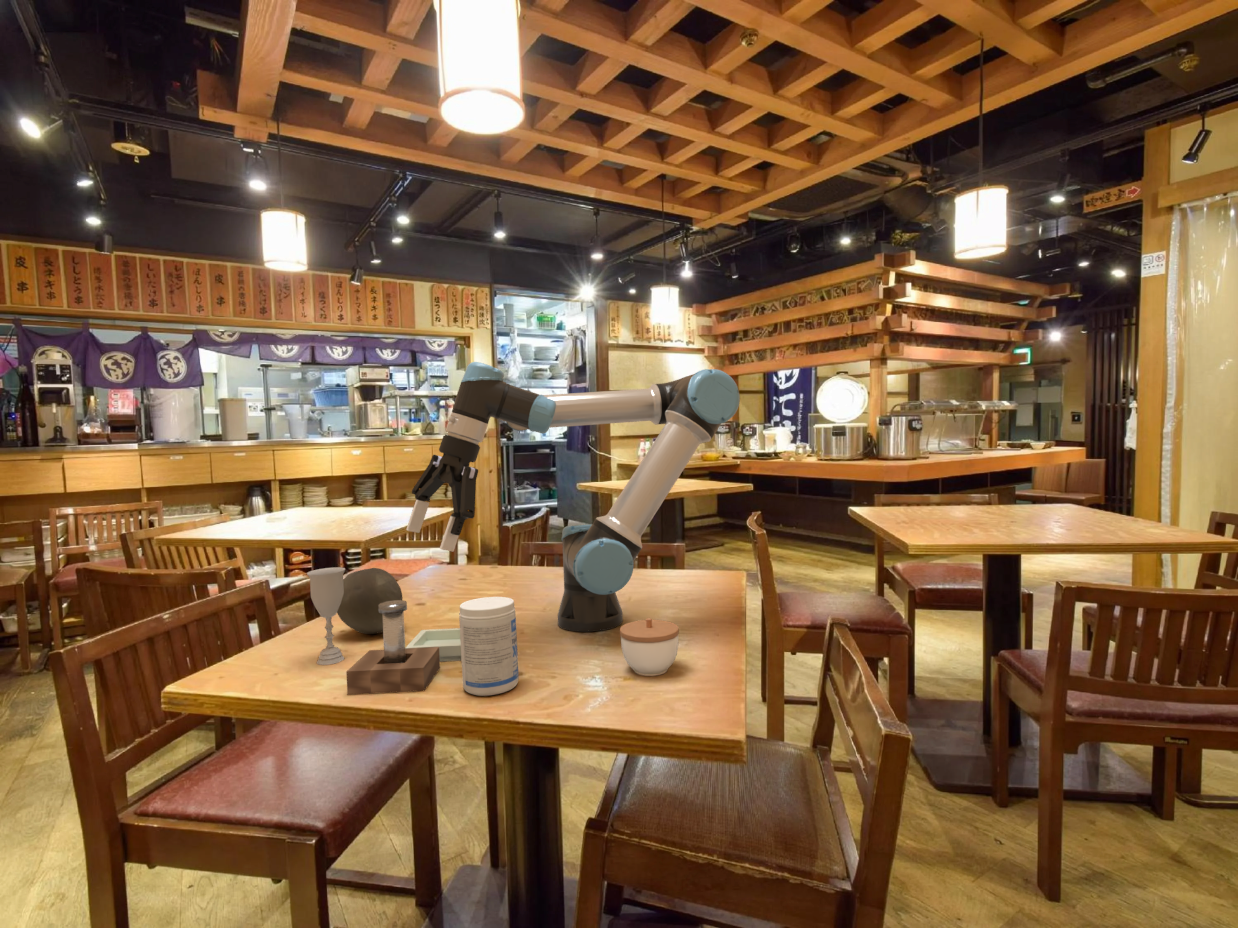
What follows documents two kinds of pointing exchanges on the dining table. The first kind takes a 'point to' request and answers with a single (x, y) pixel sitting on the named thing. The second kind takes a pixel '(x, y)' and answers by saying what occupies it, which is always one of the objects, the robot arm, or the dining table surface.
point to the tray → (440, 642)
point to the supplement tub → (488, 645)
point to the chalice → (327, 606)
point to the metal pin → (393, 630)
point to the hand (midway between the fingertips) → (429, 540)
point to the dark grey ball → (367, 599)
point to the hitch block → (393, 672)
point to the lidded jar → (649, 645)
